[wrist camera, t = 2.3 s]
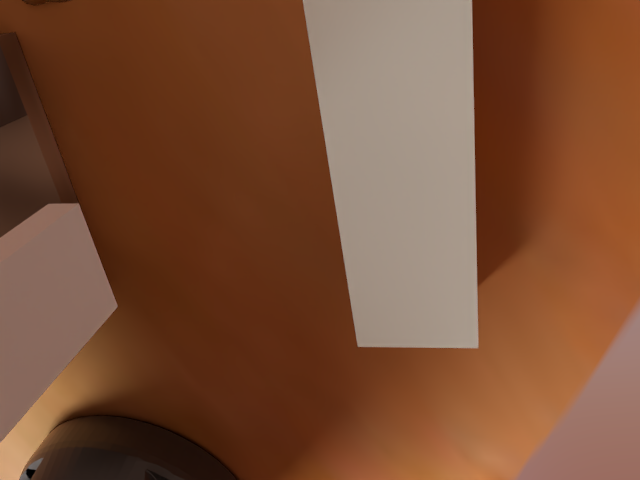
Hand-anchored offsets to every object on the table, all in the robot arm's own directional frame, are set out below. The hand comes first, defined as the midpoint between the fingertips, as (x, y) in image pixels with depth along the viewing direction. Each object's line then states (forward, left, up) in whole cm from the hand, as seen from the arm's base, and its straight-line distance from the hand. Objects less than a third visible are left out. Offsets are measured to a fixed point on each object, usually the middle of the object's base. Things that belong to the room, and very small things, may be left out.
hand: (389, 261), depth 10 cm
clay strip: (0, 0, -11) cm, 11 cm away
